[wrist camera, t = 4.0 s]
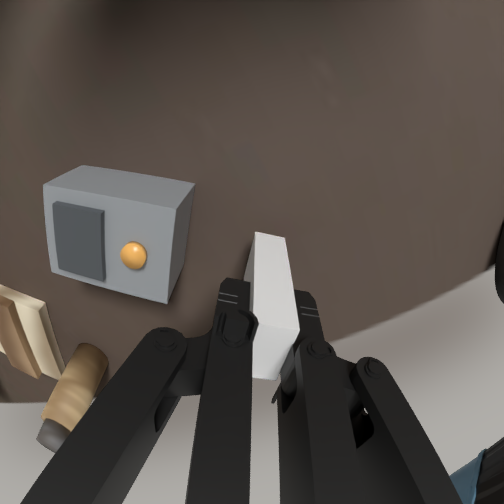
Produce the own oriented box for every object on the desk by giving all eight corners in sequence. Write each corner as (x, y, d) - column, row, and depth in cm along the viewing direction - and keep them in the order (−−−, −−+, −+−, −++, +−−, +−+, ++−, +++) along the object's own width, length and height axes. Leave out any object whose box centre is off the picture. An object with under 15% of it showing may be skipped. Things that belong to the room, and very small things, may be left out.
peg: (105, 349, 22) (61, 448, 13) (110, 371, 23) (74, 462, 14) (74, 338, 21) (25, 429, 12) (80, 361, 23) (40, 446, 14)
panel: (45, 302, 19) (32, 318, 18) (68, 373, 24) (60, 389, 22) (-33, 269, 19) (-45, 280, 17) (-7, 338, 23) (-15, 349, 21)
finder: (196, 182, 15) (173, 212, 11) (184, 262, 17) (164, 309, 14) (83, 164, 15) (38, 187, 11) (84, 239, 17) (48, 275, 13)
